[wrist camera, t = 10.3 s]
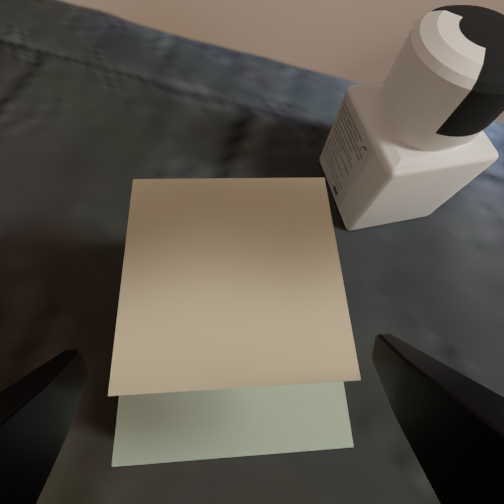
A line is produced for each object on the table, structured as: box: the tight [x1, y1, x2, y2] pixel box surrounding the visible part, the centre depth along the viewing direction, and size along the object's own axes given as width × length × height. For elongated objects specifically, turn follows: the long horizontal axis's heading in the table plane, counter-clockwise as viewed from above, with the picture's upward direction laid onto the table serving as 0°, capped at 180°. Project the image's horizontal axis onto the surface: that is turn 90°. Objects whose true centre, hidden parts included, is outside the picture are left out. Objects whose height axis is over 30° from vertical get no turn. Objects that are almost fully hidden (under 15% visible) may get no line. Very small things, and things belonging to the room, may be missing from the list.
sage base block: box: [112, 381, 354, 467], centre depth 19 cm, size 12×12×4 cm
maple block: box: [108, 177, 361, 396], centre depth 12 cm, size 5×5×11 cm
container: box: [320, 5, 504, 230], centre depth 20 cm, size 8×8×13 cm
